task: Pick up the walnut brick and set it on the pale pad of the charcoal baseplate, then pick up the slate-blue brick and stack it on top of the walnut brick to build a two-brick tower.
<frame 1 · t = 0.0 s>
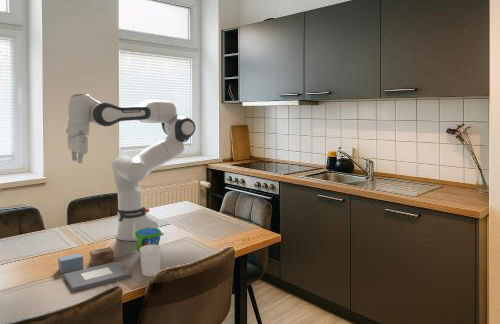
hand: (76, 161, 175), 39 cm above the table, tool pointing down, fingers open, 8 cm apart
blue brick: (71, 269, 156), on the table
white cup: (151, 273, 153), on the table
baseplate: (97, 277, 149), on the table
walnut brick: (102, 262, 163), on the table
snack cup: (149, 254, 172), on the table
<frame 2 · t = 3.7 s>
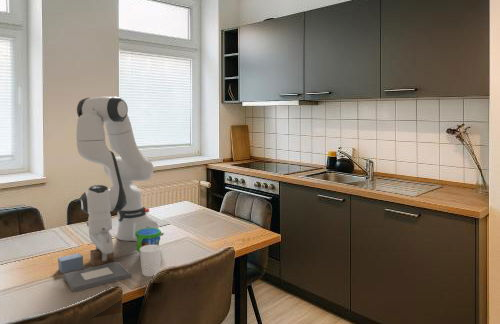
hand: (102, 257, 163), 2 cm above the table, tool pointing down, fingers closed on walnut brick, 4 cm apart
walnut brick: (102, 261, 163), on the table, touching gripper
everything else where it was.
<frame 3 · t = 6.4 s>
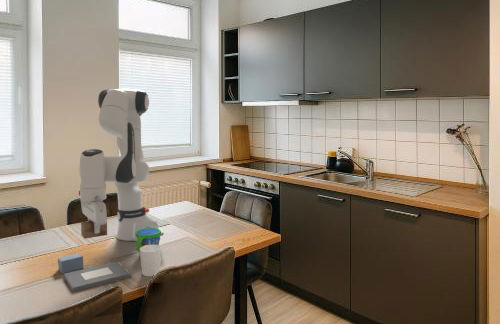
hand: (94, 230, 146), 18 cm above the table, tool pointing down, fingers closed on walnut brick, 4 cm apart
walnut brick: (94, 235, 147), point 16 cm above the table, touching gripper
everything else where it was.
when the fingers open (5 cm above the table, at t = 9.3 s): walnut brick drops 1 cm, resting on baseplate.
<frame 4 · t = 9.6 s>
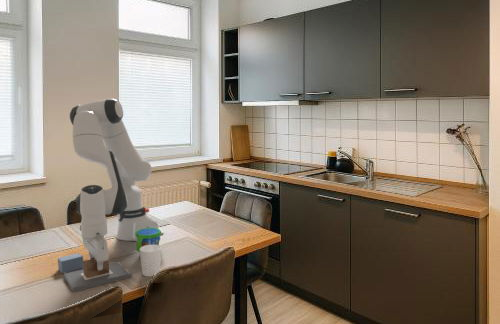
hand: (96, 265, 148), 5 cm above the table, tool pointing down, fingers open, 7 cm apart
walnut brick: (96, 273, 148), point 2 cm above the table, touching baseplate
everything else where it was.
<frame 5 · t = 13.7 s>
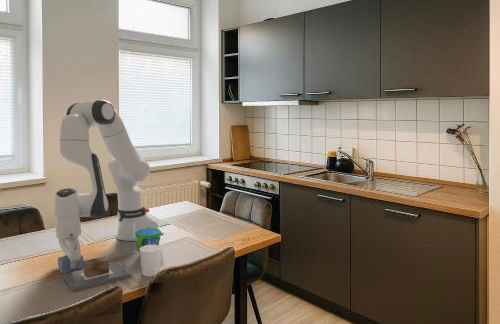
hand: (70, 264, 156), 2 cm above the table, tool pointing down, fingers closed on blue brick, 5 cm apart
blue brick: (71, 268, 156), on the table, touching gripper
everything else where it was.
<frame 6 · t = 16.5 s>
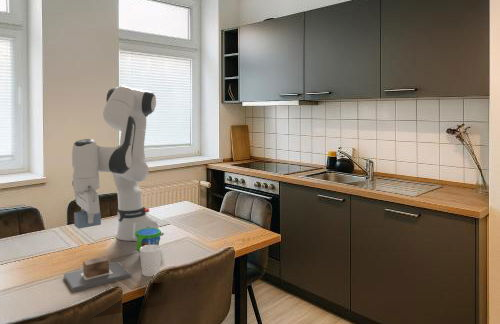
hand: (88, 220, 147), 22 cm above the table, tool pointing down, fingers closed on blue brick, 5 cm apart
blue brick: (87, 225, 147), point 20 cm above the table, touching gripper
everything else where it was.
when the fingers open (10 cm above the table, at t = 19.4 s): blue brick drops 1 cm, resting on walnut brick.
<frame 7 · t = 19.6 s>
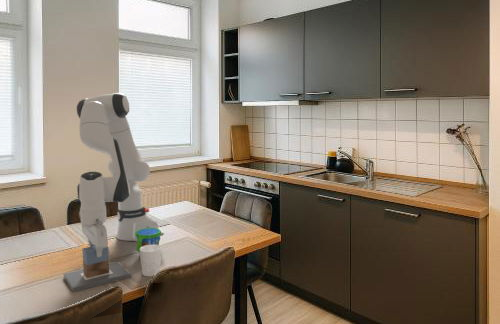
hand: (95, 252, 147), 10 cm above the table, tool pointing down, fingers open, 7 cm apart
blue brick: (96, 260, 148), point 7 cm above the table, touching walnut brick
walnut brick: (96, 273, 148), point 2 cm above the table, touching baseplate, blue brick
everything else where it was.
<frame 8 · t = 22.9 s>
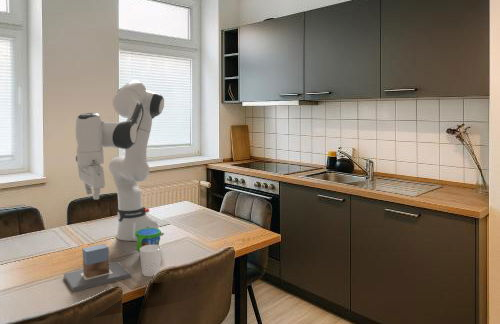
hand: (92, 196, 144), 31 cm above the table, tool pointing down, fingers open, 8 cm apart
nothing on the table moved.
at the end: walnut brick 0.1 cm off-centre on the baseplate, point 1.6 cm above the baseplate's base; blue brick 0.1 cm off-centre on the walnut brick, point 5.0 cm above the walnut brick's base; blue brick tilted 0° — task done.
